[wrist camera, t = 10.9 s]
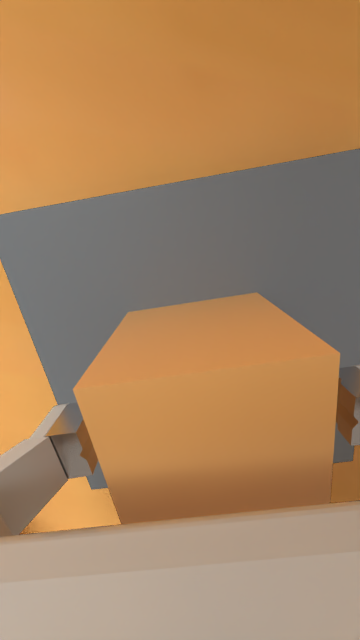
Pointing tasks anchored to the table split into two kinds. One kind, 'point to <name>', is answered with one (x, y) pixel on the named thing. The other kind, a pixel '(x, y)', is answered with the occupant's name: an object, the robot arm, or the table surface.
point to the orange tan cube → (212, 410)
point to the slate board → (190, 259)
